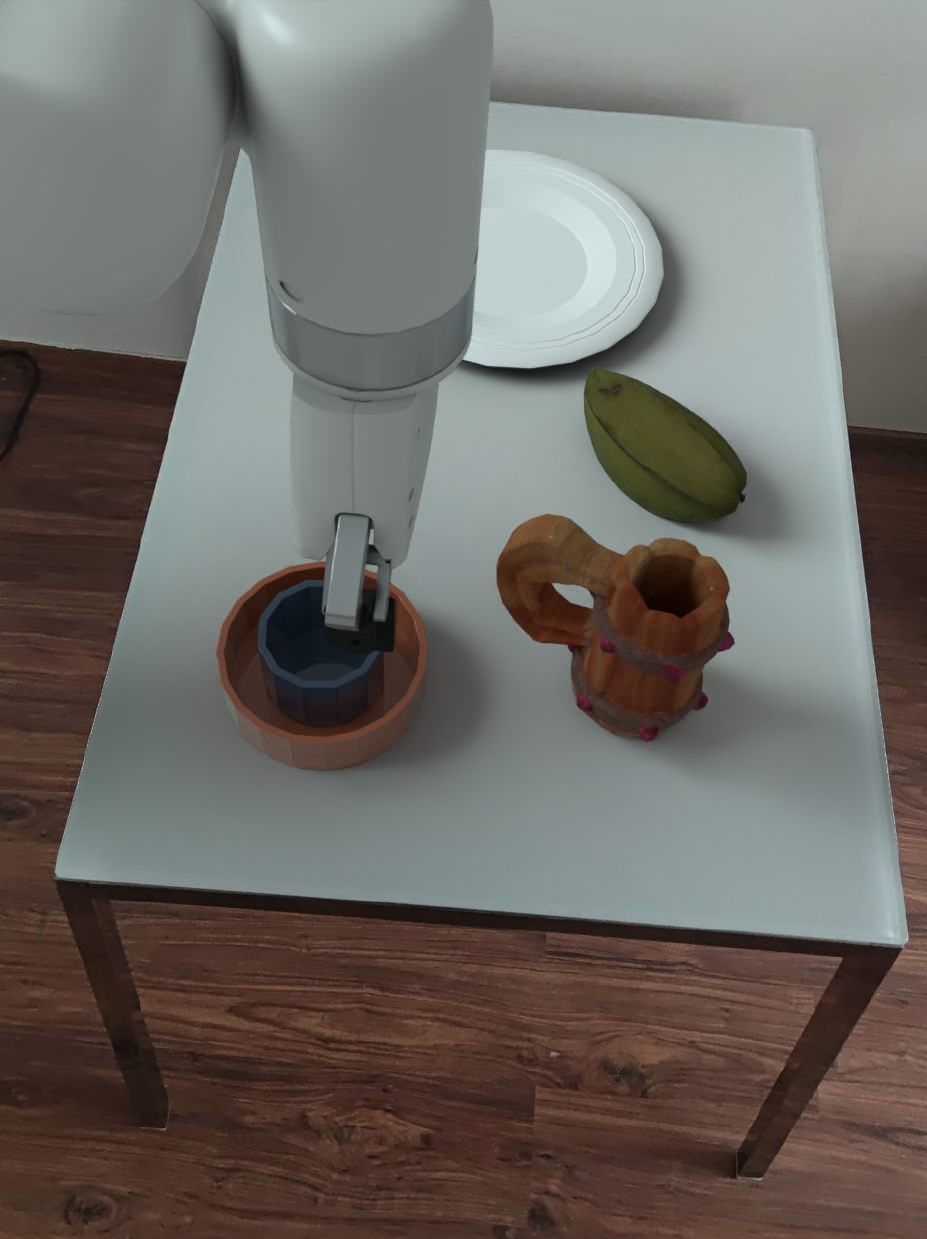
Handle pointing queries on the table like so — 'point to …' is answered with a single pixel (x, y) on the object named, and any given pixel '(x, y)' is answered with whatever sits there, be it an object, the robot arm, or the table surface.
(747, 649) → the table surface
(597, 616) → the mug
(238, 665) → the big bowl
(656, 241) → the plate
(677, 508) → the fruit
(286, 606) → the small bowl
